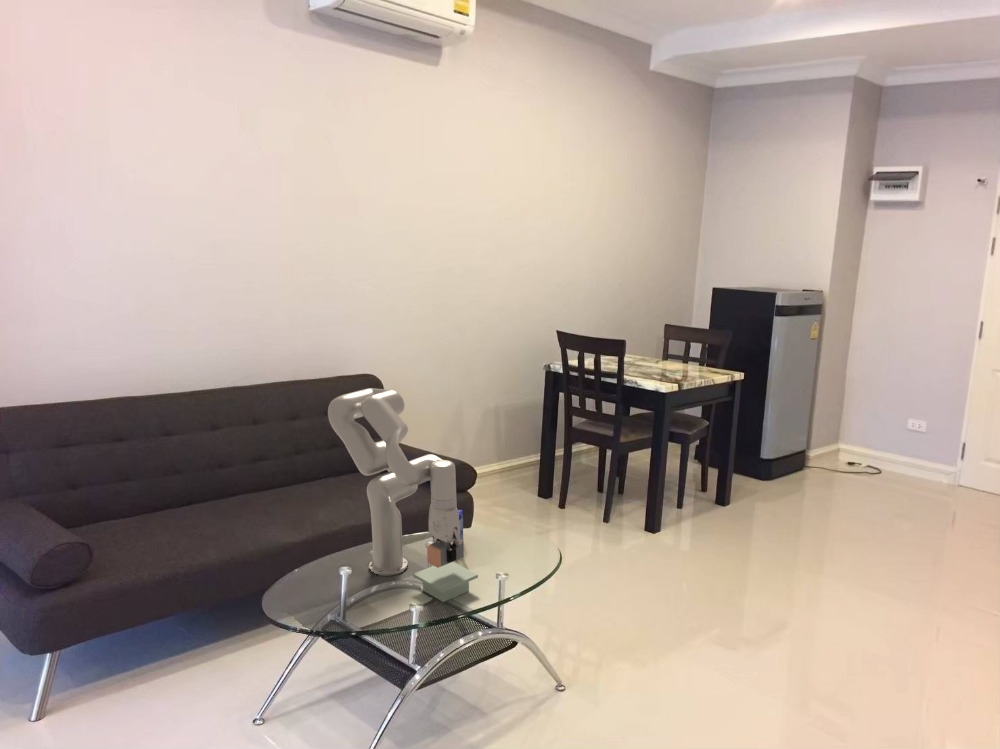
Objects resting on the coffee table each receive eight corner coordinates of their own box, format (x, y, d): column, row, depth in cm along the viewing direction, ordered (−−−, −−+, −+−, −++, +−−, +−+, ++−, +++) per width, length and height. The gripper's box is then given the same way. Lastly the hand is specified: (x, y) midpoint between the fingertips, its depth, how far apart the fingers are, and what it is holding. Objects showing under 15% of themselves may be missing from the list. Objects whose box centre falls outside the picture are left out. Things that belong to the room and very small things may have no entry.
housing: (453, 552, 250) (452, 535, 248) (463, 557, 246) (463, 540, 245) (427, 562, 243) (426, 545, 242) (437, 567, 239) (437, 550, 238)
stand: (413, 590, 248) (413, 573, 246) (449, 575, 257) (449, 559, 255) (442, 607, 237) (441, 590, 236) (478, 591, 247) (477, 574, 245)
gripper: (416, 497, 244) (419, 553, 248) (452, 513, 232) (453, 571, 236) (436, 491, 249) (438, 545, 253) (471, 506, 237) (473, 563, 241)
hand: (445, 557), depth 244 cm, fingers closed on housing, 5 cm apart
